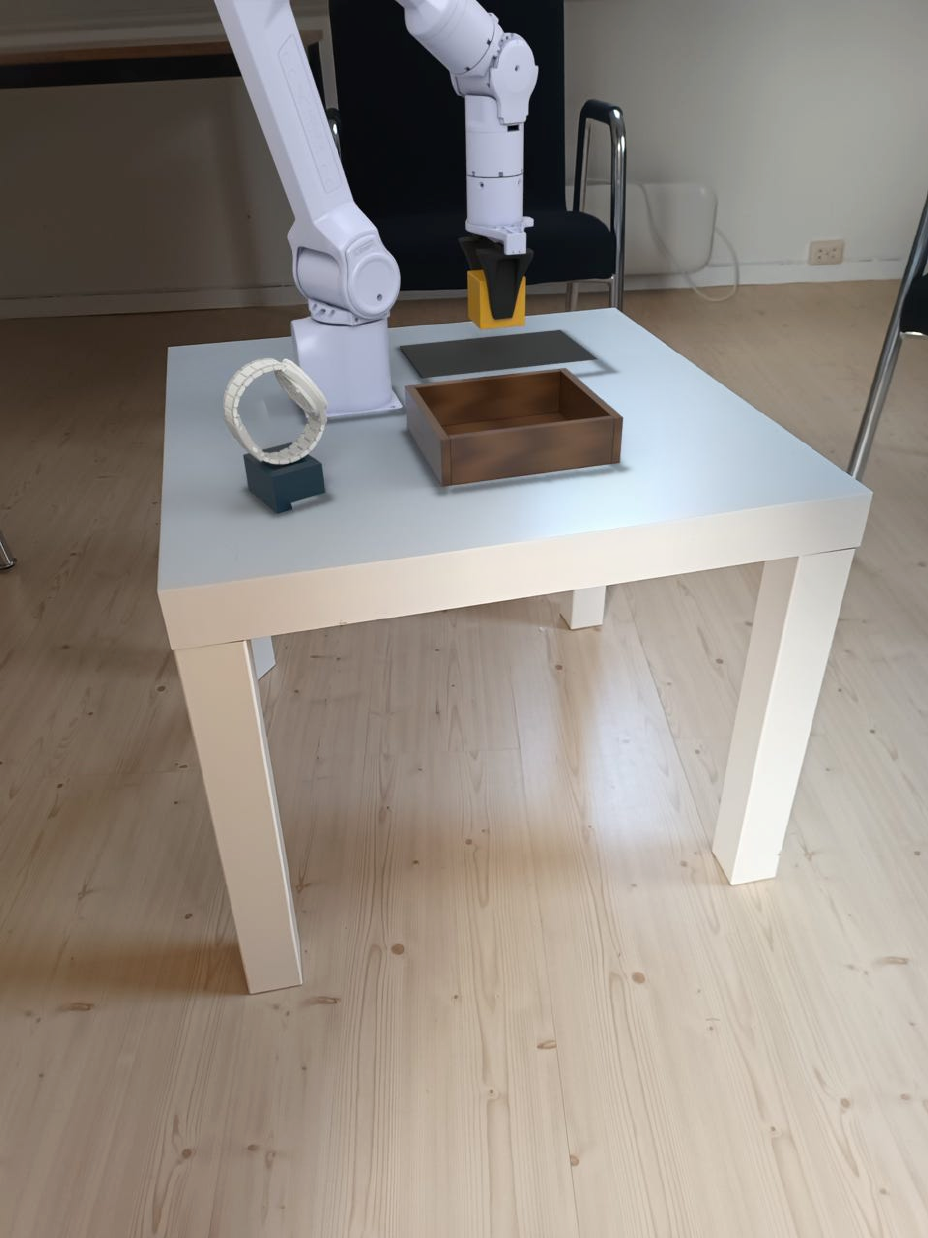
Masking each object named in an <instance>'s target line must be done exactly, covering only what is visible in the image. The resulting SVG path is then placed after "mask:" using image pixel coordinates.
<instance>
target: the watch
mask: <svg viewBox="0 0 928 1238" xmlns="http://www.w3.org/2000/svg"><path fill="white" fill-rule="evenodd" d="M272 371H273V372H274V376H275V378H276V380H277V382H278V384H279V385H280V387H281V388H282V389H283V390H284V392H285V393H286V394H287V396H289V398H290V399H291V400H292V401H293V402H294V403H295V404H296V405H297V406H298V407H299V408H301V410H303V413H304V415H305V414H307V415H309V417H308V418H307V423H306V425H305V426H304V428H303V431H302V433H300V435H299V437H298V438H297V439H296V441H294V442H293V441H290V442H287V443H282V444H279V445H275V446H271V447H267V448H263V447H261V446H260V445H258V444H257V443H255V441H254V440H253V438H252V437H251V435H250V434H249V432H248V430H247V428H246V427H245V425H244V423H243V421H242V418H241V416H240V413H238V407H239V403H240V399H241V398H240V397H241V396H242V395H243V393H244V392H245V390H246V388H247V387H248V386H249V385H250V384H251V383H252V382H253V381H254V380H255V379H257V378H258V377H260V376H262V375H264V374H266V373H269V372H272ZM222 400H223V401H222V410H223V415H224V418H223V421H224V423H225V425H226V427H227V429H228V430H229V432H230V434H231V435H232V436H233V438H234V439H235V441H237V443H238V444H239V445H240V446H241V447H242V448H243V449H244V450H245V451H247V452H248V453H244V454H242V456H243V457H242V458H243V462H244V469H245V476H246V482H247V488H248V491H249V492H251V493H252V494H253V495H254V496H256V497H257V498H258V499H259V500H261V501H262V502H263V503H264V504H265V505H267V506H268V508H270V509H271V510H273V512H275V513H276V514H281V513H284V512H287V511H290V510H293V506H292V503H295V502H299V501H301V500H306V499H309V498H312V497H315V496H318V495H323V494H326V489H325V487H326V486H325V479H324V471H323V462H321V461H319V460H318V459H316V458H315V457H314V456H312V455H311V454H310V452H312V450H313V449H315V447H317V445H318V442H320V440H321V438H322V437H323V434H324V430H325V427H326V423H327V422H328V417H327V415H326V411H325V409H327V408H328V402H327V400H326V398H325V397H324V395H323V394H322V392H321V391H320V389H319V388H318V387H317V386H316V384H315V383H314V382H313V381H312V380H311V379H310V377H309V376H308V375H307V374H306V373H305V372H304V371H303V370H302V369H301V368H299V367H298V366H297V365H296V364H295V362H294V361H292V360H290V359H289V358H284V359H283V360H282V361H279V360H277V359H275V358H273V357H264V358H258V359H254V360H252V361H250V362H248V363H246V364H244V365H243V366H241V367H240V369H239V368H238V370H236V372H235V373H234V374H233V376H232V378H231V379H230V380H229V382H228V383H227V386H226V389H225V390H224V394H223V399H222Z"/></svg>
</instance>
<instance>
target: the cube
mask: <svg viewBox="0 0 928 1238" xmlns="http://www.w3.org/2000/svg"><path fill="white" fill-rule="evenodd" d="M466 275H467V277H466V278H467V279H466V280H467V281H466V282H467V318H468V319H469V320H470V321H471V322H472V323H473V324H474V325H475V326H476V327H477V328H478V329H479V330H480V331H481V330H482V331H483V330H492V329H501V328H509V327H510V328H511V327H520V326H525V325H526V276H525V275H524V276H523V279H522V282H521V285H520V289H519V293H518V297H517V302H516V306H515V311H514V314H513V317H512V318H508V319H497V320H494V319H493V317H492V314H491V309H490V304H489V296H488V288H487V283H486V278H485V274H484V271H483V270H474V271H470V270H467V273H466Z"/></svg>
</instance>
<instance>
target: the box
mask: <svg viewBox="0 0 928 1238" xmlns="http://www.w3.org/2000/svg"><path fill="white" fill-rule="evenodd" d="M404 401H405V415H406V429H407V430H408V432H409V434H410V435H411V437H412V439H413V440H414V442H415V444H416V445H417V447H418V449H419V451H420V452H421V454H422V455H423V457H424V459H425V461H426V462H427V464H428V466H429V468H430V469H431V471H432V473H433V474H434V476H435V477H436V479H437V481H438V483H439V484H440V486H441V487H442V488H443V487H444V488H445V487H451V486H461V485H467V484H473V483H481V482H488V481H496V480H503V479H504V480H505V479H512V478H518V477H524V476H534V475H541V474H542V475H543V474H548V473H555V472H563V471H570V470H579V469H586V468H593V467H601V466H607V465H615V464H620V463H621V454H622V453H621V452H622V443H623V440H622V439H623V427H624V417H623V416H622V415H621V414H620V413H619V412H618V411H616V409H614V408H613V407H612V406H611V405H610V404H608V403H607V402H606V401H605V400H604V399H603V398H602V397H600V396H599V395H598V394H597V393H596V392H594V390H592V389H591V388H590V387H589V386H588V385H587V384H585V383H584V382H583V381H582V380H581V379H580V378H578V377H577V376H576V375H575V374H574V373H573V372H572V371H570V370H569V369H568V368H567V367H561V368H560V367H559V368H552V369H544V370H543V369H542V370H533V371H525V372H516V373H508V374H507V373H506V374H497V375H487V376H480V377H471V378H462V379H451V380H444V381H435V382H426V383H424V382H423V383H417V384H407V385H404Z"/></svg>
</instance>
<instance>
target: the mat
mask: <svg viewBox="0 0 928 1238" xmlns="http://www.w3.org/2000/svg"><path fill="white" fill-rule="evenodd" d="M399 349H400V350H401V352H402V354H403V355H404V356H405V358H406V359H407V360H408V361H409V363H410V364H411V365H412V367H413V369H414V370H415V371H416V372H417V375H418V376H419V377H420V378H421V379H430V378H439V377H440V378H441V377H449V376H458V375H467V374H475V373H485V372H486V373H487V372H493V371H504V370H513V369H514V370H515V369H522V368H530V367H540V366H541V367H542V366H551V365H559V364H567V363H576V362H577V363H578V362H585V361H587V362H588V361H595V360H598V358H597V357H596V356H594V355H593V353H591V352H590V351H588V350H587V349H586V348H585V347H583V346H582V345H580V344H579V343H578V342H576V340H574V339H572V338H571V336H569V335H568V334H566V333H565V332H564V331H562V330H561V329H553V330H544V331H534V332H533V331H532V332H525V333H524V332H523V333H515V334H514V333H513V334H505V335H496V336H495V335H494V336H486V337H474V338H465V339H464V338H463V339H455V340H446V341H436V342H425V343H424V342H423V343H416V344H407V345H400V346H399Z"/></svg>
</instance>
